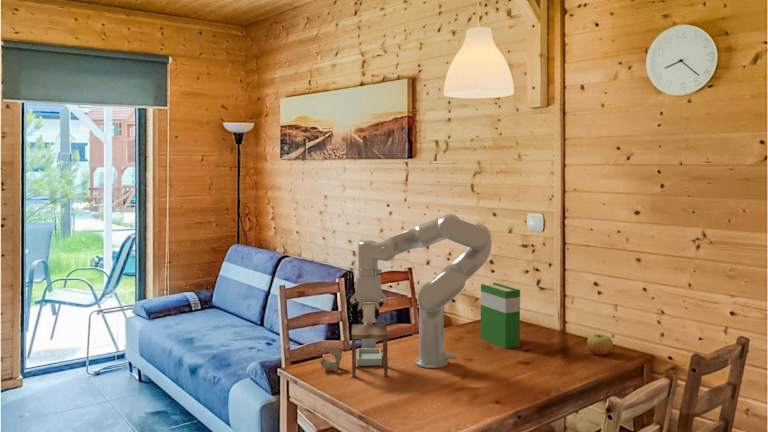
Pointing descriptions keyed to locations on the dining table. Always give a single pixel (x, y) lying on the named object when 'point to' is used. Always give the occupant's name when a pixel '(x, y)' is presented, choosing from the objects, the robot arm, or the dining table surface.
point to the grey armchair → (369, 353)
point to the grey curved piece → (330, 363)
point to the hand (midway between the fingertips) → (369, 318)
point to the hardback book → (500, 315)
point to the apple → (599, 344)
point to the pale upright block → (368, 312)
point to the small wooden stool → (369, 333)
